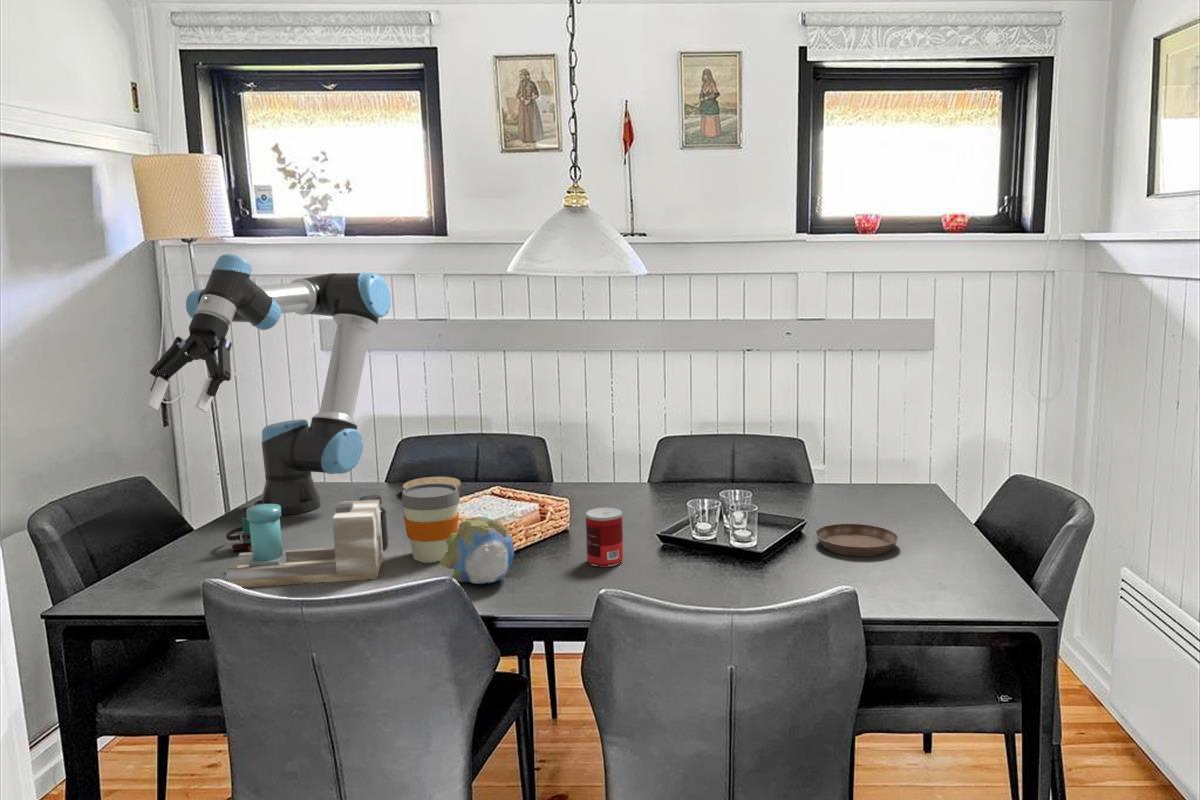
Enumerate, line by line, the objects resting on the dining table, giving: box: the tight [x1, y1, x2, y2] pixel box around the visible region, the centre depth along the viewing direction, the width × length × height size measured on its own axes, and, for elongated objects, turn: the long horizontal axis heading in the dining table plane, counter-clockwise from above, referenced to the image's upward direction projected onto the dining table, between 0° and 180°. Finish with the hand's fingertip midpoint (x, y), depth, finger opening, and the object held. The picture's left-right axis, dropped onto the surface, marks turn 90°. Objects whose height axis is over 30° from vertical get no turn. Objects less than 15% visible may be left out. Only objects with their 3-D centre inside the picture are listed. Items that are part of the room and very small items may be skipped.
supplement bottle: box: [358, 494, 390, 551], centre depth 217 cm, size 7×7×12 cm
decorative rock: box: [439, 516, 515, 585], centre depth 195 cm, size 14×16×15 cm
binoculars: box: [225, 499, 264, 552], centre depth 220 cm, size 9×11×10 cm
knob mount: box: [225, 499, 384, 588], centre depth 201 cm, size 13×30×14 cm, turn 97°
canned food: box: [585, 507, 624, 566], centre depth 204 cm, size 8×8×11 cm
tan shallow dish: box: [402, 476, 462, 495], centre depth 264 cm, size 16×16×3 cm
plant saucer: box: [815, 523, 899, 557], centre depth 211 cm, size 18×18×3 cm
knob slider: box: [246, 504, 287, 567], centre depth 200 cm, size 7×7×13 cm
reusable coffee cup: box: [401, 483, 460, 563], centre depth 210 cm, size 13×13×15 cm
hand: (176, 408), depth 199 cm, fingers open, 13 cm apart
